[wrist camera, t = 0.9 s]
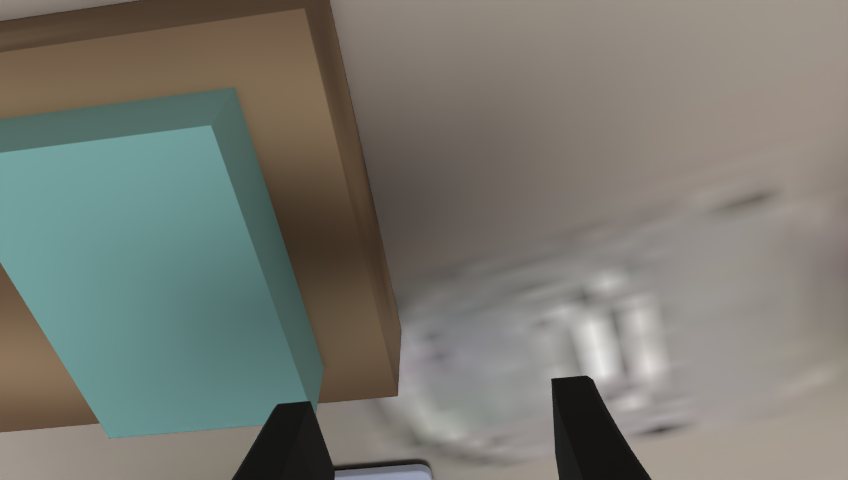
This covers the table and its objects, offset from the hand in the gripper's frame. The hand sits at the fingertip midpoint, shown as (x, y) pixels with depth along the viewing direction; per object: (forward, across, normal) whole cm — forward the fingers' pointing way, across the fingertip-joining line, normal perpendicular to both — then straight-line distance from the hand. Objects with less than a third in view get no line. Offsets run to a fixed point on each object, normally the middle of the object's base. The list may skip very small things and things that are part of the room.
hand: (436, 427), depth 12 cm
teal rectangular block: (+6, +7, 0) cm, 9 cm away
